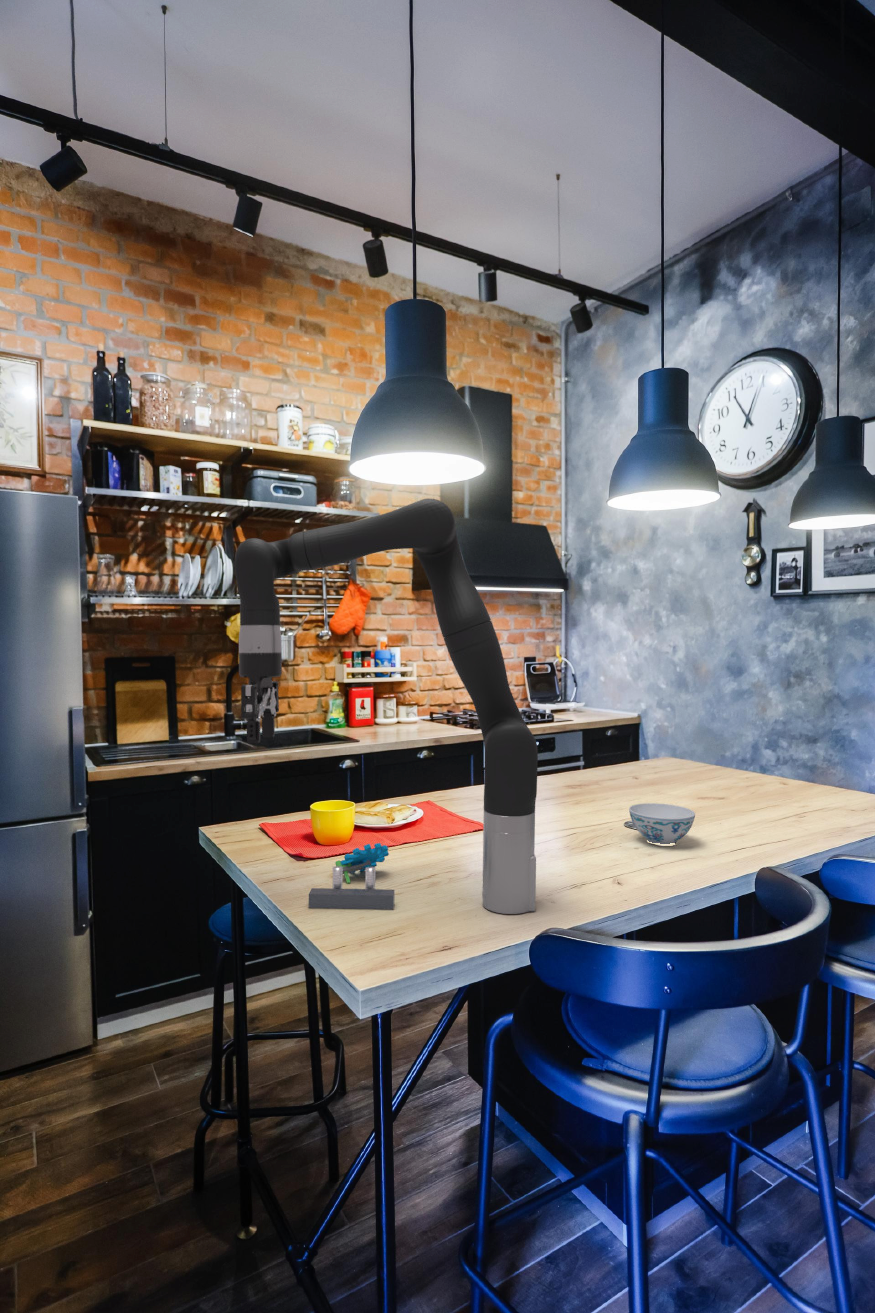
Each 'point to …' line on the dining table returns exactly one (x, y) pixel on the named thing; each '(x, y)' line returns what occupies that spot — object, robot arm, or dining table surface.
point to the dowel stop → (352, 894)
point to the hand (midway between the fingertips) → (261, 740)
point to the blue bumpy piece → (362, 859)
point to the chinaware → (661, 821)
